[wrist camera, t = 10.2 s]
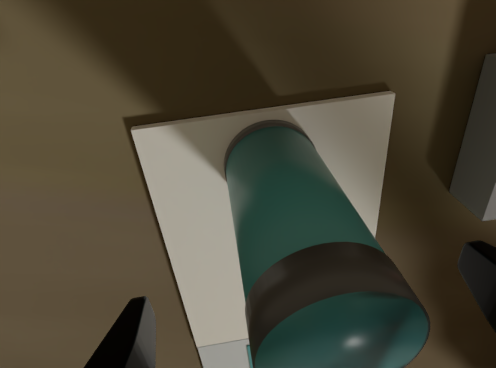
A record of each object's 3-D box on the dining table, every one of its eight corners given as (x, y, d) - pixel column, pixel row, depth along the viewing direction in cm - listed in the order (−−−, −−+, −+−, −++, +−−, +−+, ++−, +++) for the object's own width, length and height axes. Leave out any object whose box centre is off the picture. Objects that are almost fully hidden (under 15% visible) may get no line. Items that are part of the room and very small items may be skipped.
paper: (361, 312, 23) (364, 317, 22) (196, 341, 22) (196, 347, 22) (390, 90, 15) (395, 93, 14) (132, 126, 14) (130, 130, 14)
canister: (313, 193, 17) (413, 382, 9) (229, 206, 16) (259, 412, 9) (314, 113, 14) (448, 274, 7) (217, 127, 14) (243, 309, 7)
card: (303, 362, 25) (304, 368, 25) (208, 380, 25) (208, 385, 24) (302, 325, 23) (304, 330, 22) (197, 343, 22) (197, 349, 22)
